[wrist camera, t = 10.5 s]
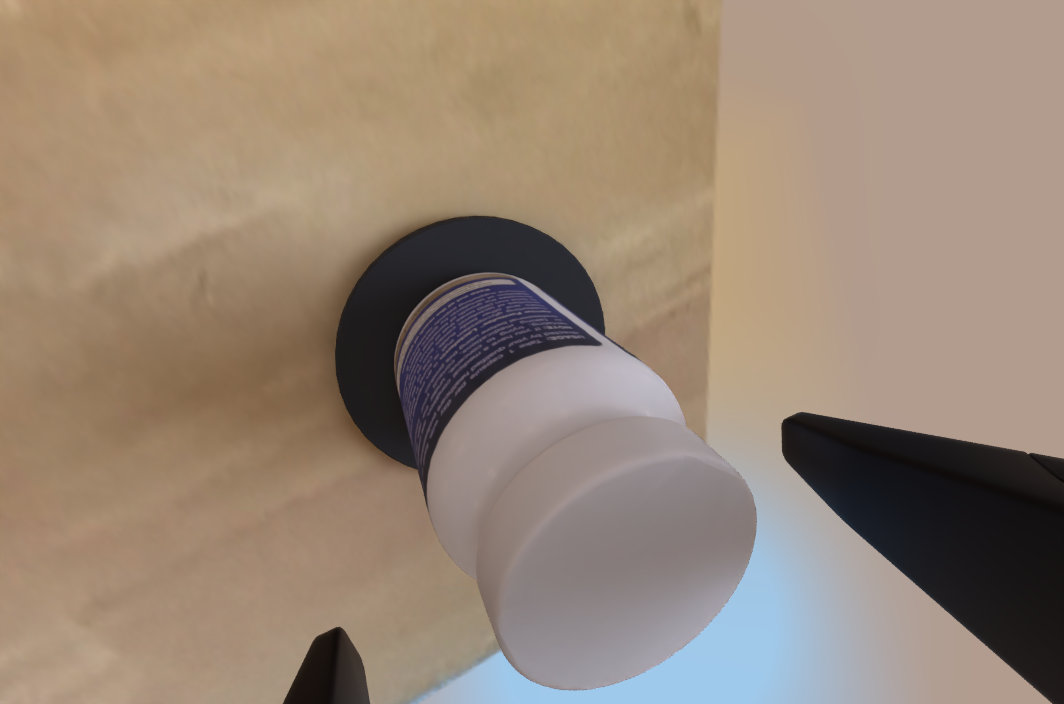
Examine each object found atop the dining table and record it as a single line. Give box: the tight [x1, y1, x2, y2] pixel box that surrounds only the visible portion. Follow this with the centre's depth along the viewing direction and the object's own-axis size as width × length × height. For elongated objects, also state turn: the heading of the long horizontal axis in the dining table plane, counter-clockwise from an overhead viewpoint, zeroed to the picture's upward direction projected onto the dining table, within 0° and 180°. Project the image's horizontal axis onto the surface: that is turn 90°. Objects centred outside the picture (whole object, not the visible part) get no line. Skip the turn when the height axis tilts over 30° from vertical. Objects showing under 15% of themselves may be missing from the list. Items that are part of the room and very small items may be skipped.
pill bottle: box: [394, 273, 757, 690], centre depth 12 cm, size 6×6×10 cm
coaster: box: [335, 216, 605, 469], centre depth 17 cm, size 9×9×1 cm
